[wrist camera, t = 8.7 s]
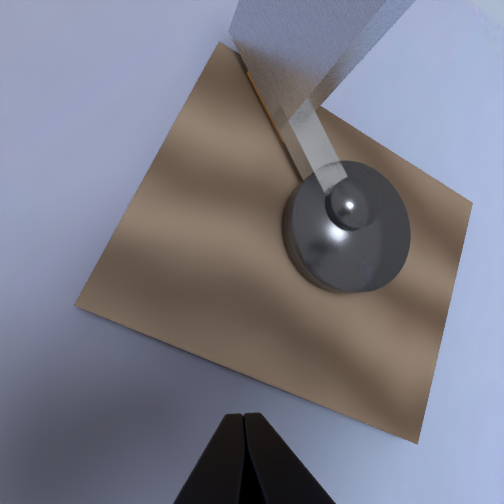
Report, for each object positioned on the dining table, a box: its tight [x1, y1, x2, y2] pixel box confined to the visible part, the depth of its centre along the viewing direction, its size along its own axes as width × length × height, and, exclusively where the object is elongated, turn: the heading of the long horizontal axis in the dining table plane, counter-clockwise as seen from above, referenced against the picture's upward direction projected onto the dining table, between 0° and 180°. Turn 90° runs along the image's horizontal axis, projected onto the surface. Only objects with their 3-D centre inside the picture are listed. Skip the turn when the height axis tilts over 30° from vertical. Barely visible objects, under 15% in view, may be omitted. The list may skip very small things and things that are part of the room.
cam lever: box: [229, 0, 416, 294], centre depth 17 cm, size 18×8×11 cm, turn 28°
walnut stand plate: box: [74, 42, 473, 444], centre depth 23 cm, size 18×22×2 cm
